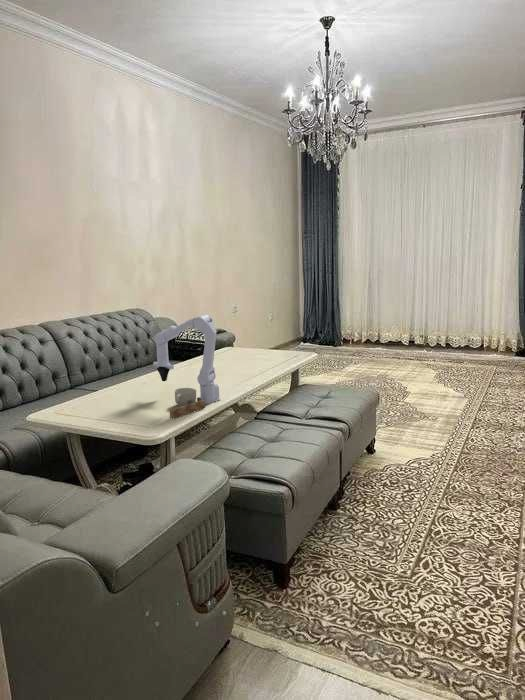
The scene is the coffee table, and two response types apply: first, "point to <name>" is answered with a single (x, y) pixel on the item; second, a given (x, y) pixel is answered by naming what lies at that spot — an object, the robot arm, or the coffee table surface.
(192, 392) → the teacup
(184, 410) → the stop rail
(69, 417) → the coffee table surface
